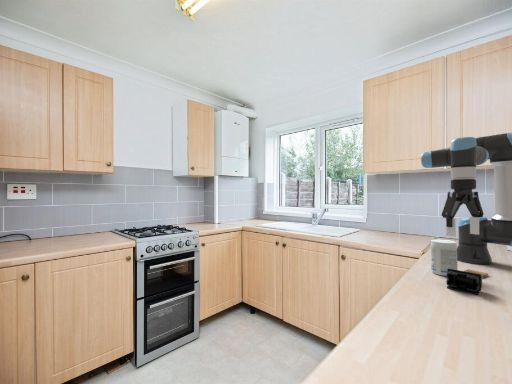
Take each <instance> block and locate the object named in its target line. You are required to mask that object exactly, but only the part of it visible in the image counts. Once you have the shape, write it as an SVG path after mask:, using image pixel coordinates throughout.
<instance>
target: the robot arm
mask: <svg viewBox="0 0 512 384" xmlns="http://www.w3.org/2000/svg"><path fill="white" fill-rule="evenodd" d="M488 160H489V164H490V165H492V166H493V172H494V174H493V176H494V210H495V211H494V215H492V216H491V218H490V219H488V217H487V216H484V215H485V214H484V210H483V208H482V207H483V206H482V204H481V201H480V198H479V191H473V190H476V189H477V179H476V178H477V166H480V165H484V164H485V163H486V162H487V161H488ZM420 163H421V166H422V167H423V168H425V169H434V168H447V167H450V178H451V180H450V189H451V190H453V191H448V192H447V198H446V200H445V203H444V207H443V209H442V212H441V217H442V218H444V219H445V223H446V224H445V225H446V235H445V236H448V237H453V238H455V237H456V236H457V235H456V232H457V231H456V228H457V227H458V228H457V229H458V245H457V261H459V262H464V263H469V264H475V265H492V262H493V261H492V260H493V259H492V256H491V254H490V252H489V251H490V250H489V249H488V244H494V245H502V246H508V247H512V132H507V133H499V134H492V135H487V136H485V135H484V136H478V137H474V136H466V137H458V138H455V139H452V140H451V143H450V146H449V147H445V148H441V149H437V150H429V151H424V152H422V154H421V156H420ZM462 205H465V206H466V207H465V208H467V210H468V212H469V214H470V216H469V217H462V218H460V219H459V221H458V226H457V227H456V223H457V222H456V221H457V219H456V218H455V217H456V215H457V213H458V211H459V209H460V207H461V206H462Z"/></svg>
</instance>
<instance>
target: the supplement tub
mask: <svg viewBox="0 0 512 384" xmlns="http://www.w3.org/2000/svg"><path fill="white" fill-rule="evenodd" d="M430 242H431V243H430V261H431V262H430V263H431V264H430V266H431V272H432V273H433V274H435V275H438V276H442V277H443V276H444V277H447V276H446V275H447V269H454V270H458V260H457V247H458V245H457V242H456V241H454V240H449V239H437V238H436V239H431V240H430Z"/></svg>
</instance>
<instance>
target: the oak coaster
mask: <svg viewBox="0 0 512 384" xmlns="http://www.w3.org/2000/svg"><path fill="white" fill-rule="evenodd" d="M464 271H465V272H471V273H476V274H481V275H482V279H484V278H487V277H489V273H488V272H484V271H483V272H482V271H478V270H474V269H469V268H468V269H465V270H464Z"/></svg>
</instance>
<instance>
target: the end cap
mask: <svg viewBox="0 0 512 384" xmlns="http://www.w3.org/2000/svg"><path fill="white" fill-rule="evenodd" d="M445 277H446V279H447V280H446V281H445V282H446V288H447V289H448V290H452V291H456V292H461V293H465V294H470V295H473V296H478V295H479V293H480V292H481V291H482V288H483V278H482V275H481V274H476V273H471V272H465V270H454V269H447V275H446V276H445Z"/></svg>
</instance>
